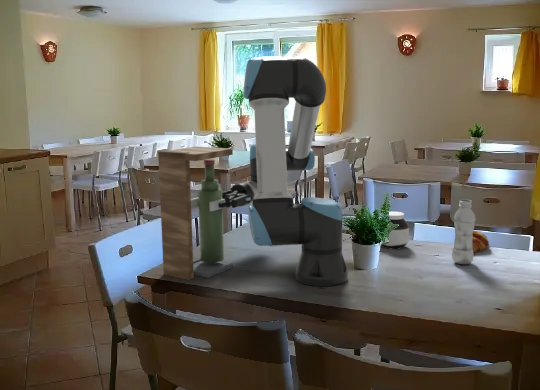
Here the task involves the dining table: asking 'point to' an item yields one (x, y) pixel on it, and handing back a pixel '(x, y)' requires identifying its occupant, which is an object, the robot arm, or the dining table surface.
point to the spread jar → (398, 231)
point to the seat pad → (209, 268)
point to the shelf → (179, 206)
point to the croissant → (479, 241)
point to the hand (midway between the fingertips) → (200, 205)
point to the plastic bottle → (463, 233)
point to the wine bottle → (210, 217)
